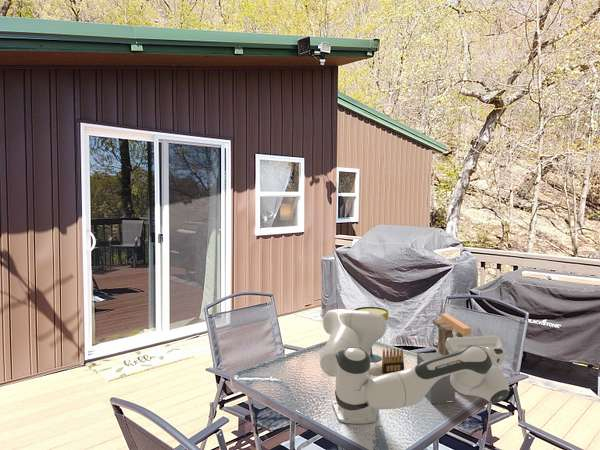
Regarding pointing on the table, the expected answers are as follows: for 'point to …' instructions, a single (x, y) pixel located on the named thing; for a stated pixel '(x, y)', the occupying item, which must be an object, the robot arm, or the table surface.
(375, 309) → the cocktail glass
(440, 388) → the grey concrete block
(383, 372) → the ammunition clip
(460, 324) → the wooden bar
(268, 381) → the table surface
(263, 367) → the table surface
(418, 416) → the table surface
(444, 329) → the wooden pedestal stand
